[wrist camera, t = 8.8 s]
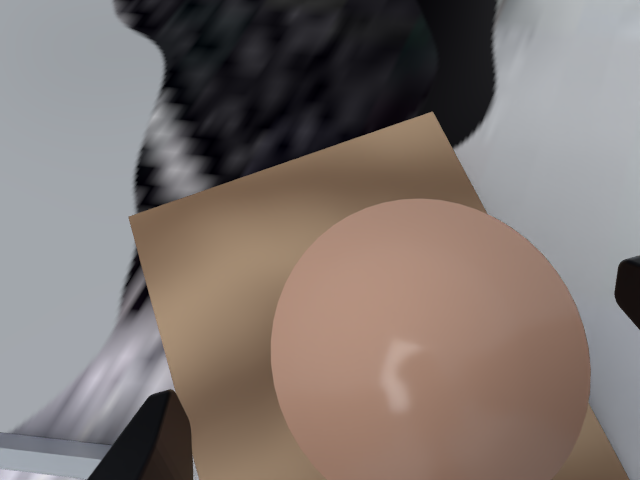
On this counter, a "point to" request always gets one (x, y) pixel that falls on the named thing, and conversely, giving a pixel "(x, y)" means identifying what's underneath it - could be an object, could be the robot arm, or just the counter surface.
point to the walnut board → (268, 282)
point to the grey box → (50, 455)
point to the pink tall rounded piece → (429, 349)
